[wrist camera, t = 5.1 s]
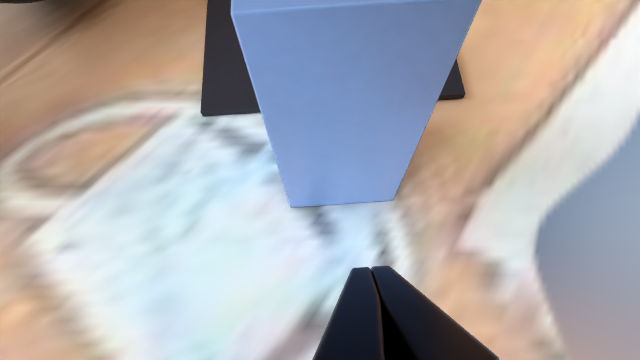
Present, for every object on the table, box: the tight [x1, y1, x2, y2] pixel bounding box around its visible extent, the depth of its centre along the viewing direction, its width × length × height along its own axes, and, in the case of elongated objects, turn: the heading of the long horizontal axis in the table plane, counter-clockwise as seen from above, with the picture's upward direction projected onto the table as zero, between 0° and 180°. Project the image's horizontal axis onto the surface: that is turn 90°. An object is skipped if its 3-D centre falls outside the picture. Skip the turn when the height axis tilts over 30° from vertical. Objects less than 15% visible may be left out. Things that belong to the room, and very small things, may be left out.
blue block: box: [231, 0, 482, 208], centre depth 14 cm, size 4×5×12 cm
